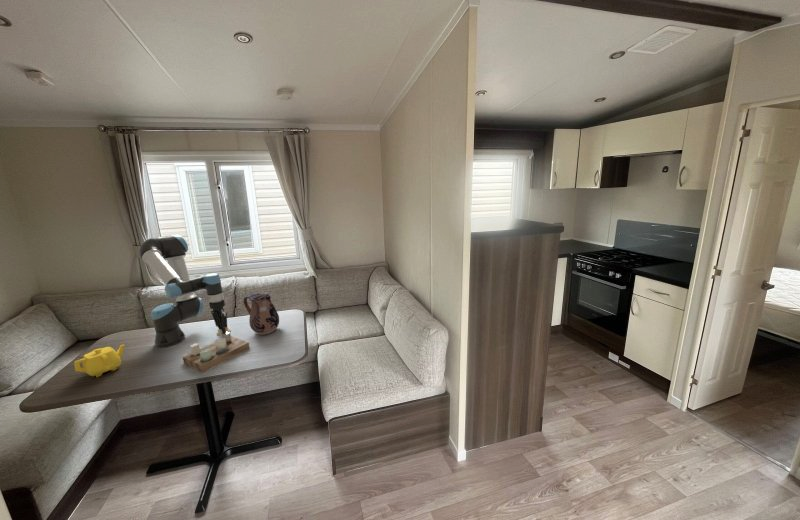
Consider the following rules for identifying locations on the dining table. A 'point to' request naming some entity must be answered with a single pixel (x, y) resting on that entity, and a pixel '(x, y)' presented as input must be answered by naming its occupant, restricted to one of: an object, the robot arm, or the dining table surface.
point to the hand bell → (225, 329)
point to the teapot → (100, 361)
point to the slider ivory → (195, 349)
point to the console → (216, 355)
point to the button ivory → (220, 343)
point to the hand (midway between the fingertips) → (224, 337)
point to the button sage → (206, 354)
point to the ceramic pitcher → (262, 313)
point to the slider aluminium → (227, 337)
